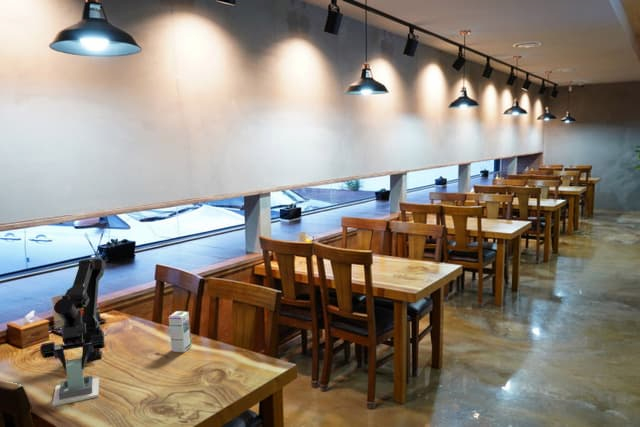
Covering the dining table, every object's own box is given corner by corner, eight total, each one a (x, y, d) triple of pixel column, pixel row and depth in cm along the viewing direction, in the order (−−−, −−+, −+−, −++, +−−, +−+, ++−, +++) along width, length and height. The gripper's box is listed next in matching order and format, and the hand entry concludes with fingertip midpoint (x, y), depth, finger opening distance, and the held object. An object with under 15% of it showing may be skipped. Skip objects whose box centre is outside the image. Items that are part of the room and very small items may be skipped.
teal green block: (69, 386, 163) (66, 360, 162) (84, 383, 165) (81, 357, 163) (68, 392, 159) (65, 366, 158) (83, 389, 161) (81, 363, 159)
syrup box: (185, 352, 191) (182, 316, 189) (170, 351, 192) (168, 315, 190) (191, 346, 196) (189, 311, 194) (178, 345, 198) (175, 310, 196)
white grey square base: (56, 387, 165) (55, 379, 165) (98, 379, 170) (98, 371, 170) (52, 406, 154) (51, 397, 153) (98, 396, 159) (97, 388, 158)
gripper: (37, 320, 159) (37, 366, 150) (101, 311, 166) (104, 354, 157) (43, 335, 167) (43, 380, 158) (103, 325, 174) (106, 368, 166)
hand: (74, 370), depth 160 cm, fingers closed on teal green block, 4 cm apart
